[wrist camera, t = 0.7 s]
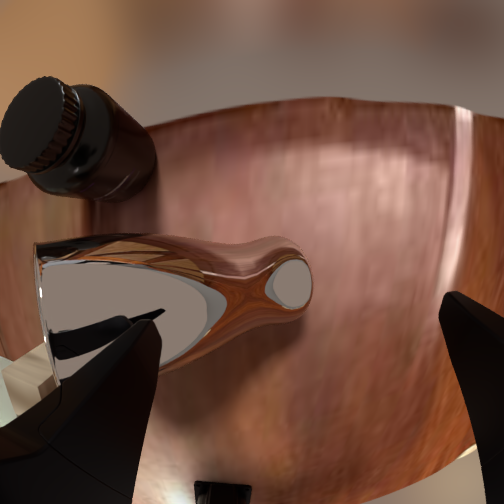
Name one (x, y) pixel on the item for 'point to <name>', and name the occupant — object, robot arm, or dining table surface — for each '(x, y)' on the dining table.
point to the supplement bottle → (76, 142)
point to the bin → (5, 397)
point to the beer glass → (163, 293)
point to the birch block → (29, 379)
